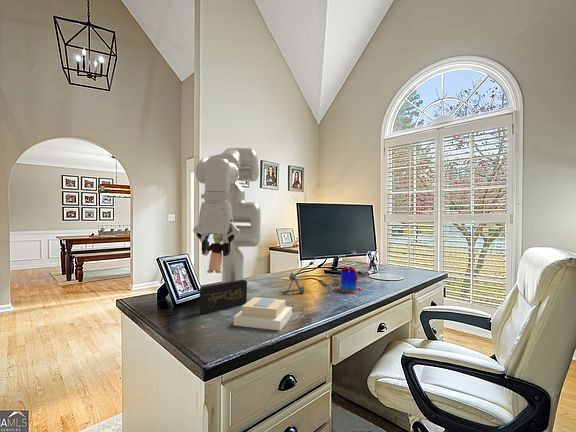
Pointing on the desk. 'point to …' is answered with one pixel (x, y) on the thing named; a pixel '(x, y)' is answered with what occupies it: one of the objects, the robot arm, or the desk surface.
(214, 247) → the grandmother figurine
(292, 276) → the portable electronic device stand
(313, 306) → the desk surface
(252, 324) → the plinth
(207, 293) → the nameplate
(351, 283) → the fantasy tower
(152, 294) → the desk surface
